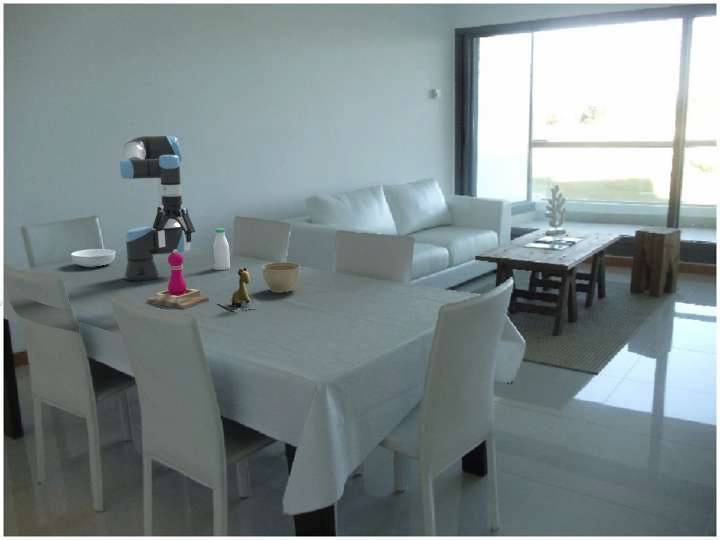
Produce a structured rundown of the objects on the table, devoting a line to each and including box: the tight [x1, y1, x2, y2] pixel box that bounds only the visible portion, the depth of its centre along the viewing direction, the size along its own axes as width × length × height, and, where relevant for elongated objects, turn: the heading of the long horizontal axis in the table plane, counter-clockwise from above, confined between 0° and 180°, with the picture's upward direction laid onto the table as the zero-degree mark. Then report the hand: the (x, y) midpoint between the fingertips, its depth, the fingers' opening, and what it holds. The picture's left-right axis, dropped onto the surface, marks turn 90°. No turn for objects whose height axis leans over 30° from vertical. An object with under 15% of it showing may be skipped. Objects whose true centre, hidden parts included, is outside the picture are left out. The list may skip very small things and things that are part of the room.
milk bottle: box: [212, 227, 231, 271], centre depth 333 cm, size 8×8×20 cm
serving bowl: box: [70, 248, 116, 268], centre depth 342 cm, size 21×21×7 cm
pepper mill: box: [167, 249, 188, 296], centre depth 271 cm, size 7×7×20 cm
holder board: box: [146, 288, 210, 310], centre depth 273 cm, size 20×14×4 cm
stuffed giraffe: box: [220, 267, 258, 312], centre depth 268 cm, size 16×18×16 cm
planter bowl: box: [261, 261, 301, 294], centre depth 290 cm, size 16×16×11 cm
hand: (174, 248), depth 269 cm, fingers open, 13 cm apart
